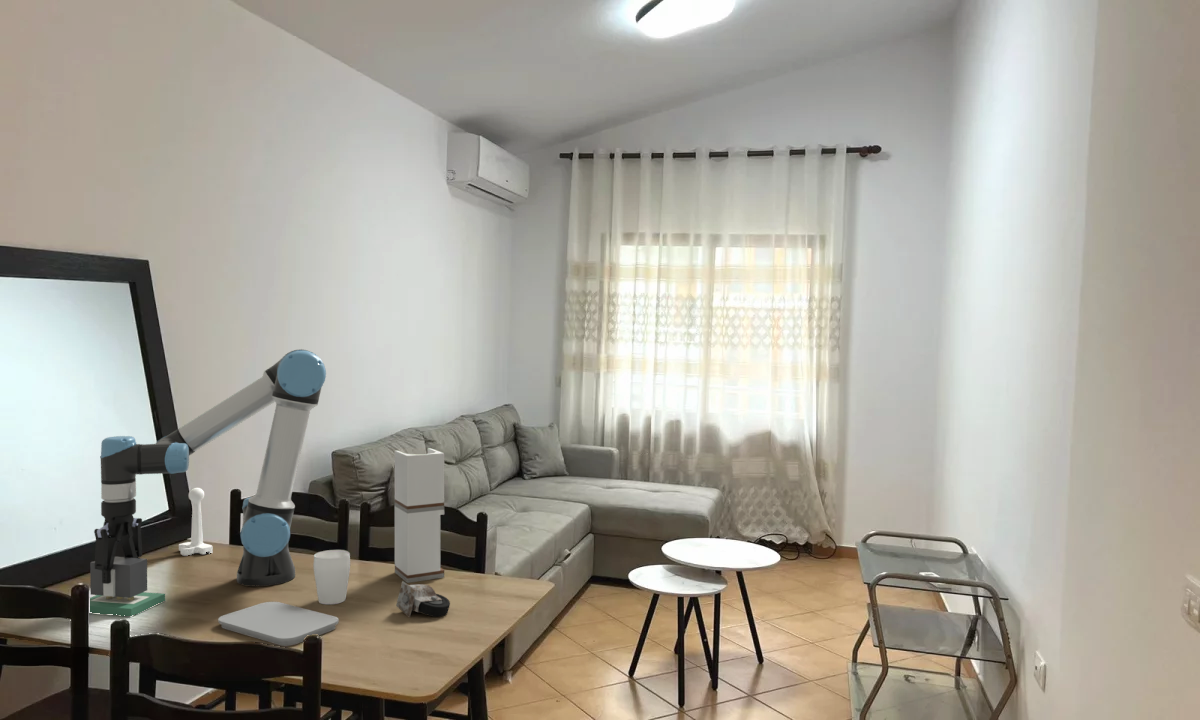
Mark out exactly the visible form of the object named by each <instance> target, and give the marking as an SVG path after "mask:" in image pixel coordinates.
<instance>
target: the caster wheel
mask: <svg viewBox="0 0 1200 720" xmlns="http://www.w3.org/2000/svg"><path fill="white" fill-rule="evenodd" d="M400 585H401V586H400V588H399V593H398V596H397V597H398V598H397V601H396V605H395V606H396V607H397V608H398V609H399V610H400V611H401V612H403V614H405V616H407V617H408V618H410V617H411V614H412V611H414V612H417V613H421V614H423V615H426V616H429V617H430V616H431V617H439V618H440V617H444V616H446V615H448V613H449V609H450V605H451V601H450V599H448V598H447V597H446V596H444V595H442V594H438V593H436V591H435V590H434V588H433V587H432V586H430V585H429V584H422V583H421V584H410V585H409V584H408V583H407V582H406V581H404V580H402V581H401V584H400Z"/></svg>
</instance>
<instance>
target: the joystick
mask: <svg viewBox="0 0 1200 720" xmlns="http://www.w3.org/2000/svg"><path fill="white" fill-rule="evenodd" d="M204 498H205V491H204V490H203V489H202V488H201V487H194V488H192V489H190V491H189V492H188V499H189V500H190V501H191V503H192V511H191V513H192V514H191V516H192V517H191V534H190V535H191V537H190V538H191V539H190V541H186V542H183V543H179V544H178V551H180V555H182V556H184V557H187V556H188V555H190V556H193V555H194V554H200V555H206V554H208V555H211V554H210V553H212V554H213V545H212V544H208V543H205V542H204V538H203V537H204V536H203V525H202V524H203V523H202V522H203V521H202V520H203V518H202V504H201V503H202V501H203V500H204ZM206 552H207V553H206ZM192 554H193V555H192Z"/></svg>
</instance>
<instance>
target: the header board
mask: <svg viewBox="0 0 1200 720" xmlns="http://www.w3.org/2000/svg"><path fill="white" fill-rule="evenodd" d="M89 598H90V612H92V613H100V614H113V615H116V614H117V615H121V616H120V617H124V615H125V616H132V615H135V614H137V615H139V614H141V613H143V612H142V611H144V610H146V609H148V608H150V607H152V606H154V605H156V604H158V603H161V602H163V601H165V602H166V593H163V592H162V593H160V592H147V591H145V592H142V593H140V594H138V595H135V596H133V597H131V598H127V597H114V596H102V595H92V596H91V597H89ZM163 603H164V602H163ZM161 604H162V603H161ZM156 606H157V605H156ZM154 607H155V606H154ZM152 608H153V607H152ZM150 609H151V608H150ZM148 610H149V609H148ZM146 611H147V610H146ZM140 612H141V613H140ZM144 612H145V611H144ZM138 613H139V614H138ZM135 616H136V615H135Z"/></svg>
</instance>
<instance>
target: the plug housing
mask: <svg viewBox="0 0 1200 720" xmlns="http://www.w3.org/2000/svg"><path fill="white" fill-rule="evenodd" d="M107 565H108V564H107ZM89 567H90V571H89V573H90V574H89V577H90V578H89V579H90V595H91V596H96V595H102V596H103V583H102V570H98V569H95V560H94V561H91V562H90V565H89ZM112 569H115V596H114V597H127V598H131V597H133V596H135V595H138V594H140V593H142V592H147V591H148V558H142V557H138V558H128V557H125V556H115V558H114V563H113V568H112Z"/></svg>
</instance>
